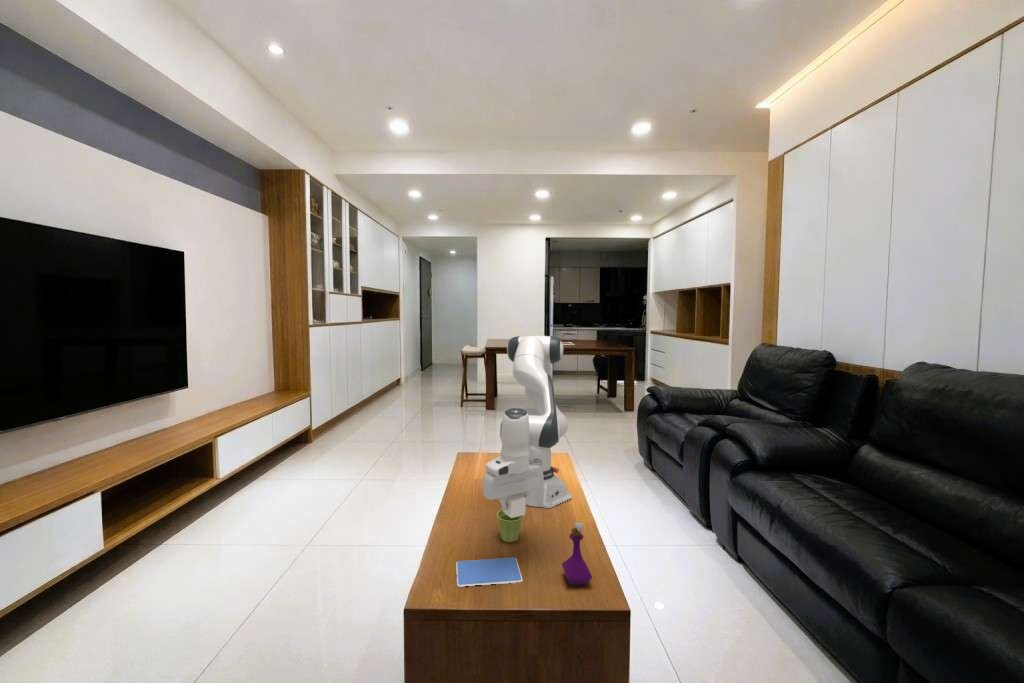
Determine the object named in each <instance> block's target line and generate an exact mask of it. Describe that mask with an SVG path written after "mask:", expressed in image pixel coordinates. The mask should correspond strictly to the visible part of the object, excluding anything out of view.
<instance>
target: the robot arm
mask: <svg viewBox="0 0 1024 683" xmlns="http://www.w3.org/2000/svg"><path fill="white" fill-rule="evenodd" d="M506 352H507V356H508V359H509V360H510V361H511V362H512V363H513V366H512V374H513V375H512V376H513V377H514V380H515V381H516V382H517V383H518V384H519V385H521V386H522V387H524V393H525V396H526V398H528V399H527V400H530V402H532V403H533V405H534V407H532V406H520V407H512V408H509V409H505V411H504V412H503V416H502V421H501V423H500V427H499V428H500V432H499V434H500V435H499V436H500V441H501V442H500V443H501V449H500V454H499V455H498V456H497V457H495V458H494V459H491V460H490V461H488V462H487V463H485V466H484V467H485V470H486V472H485V474H484V477H483V483H482V494H483V496H484V497H485V498H486V499H487V500H489V501H493V500H497V499H498V500H499V502H500V504H501V506H500V507H501V510H508V505H509V504H507V503H506V502H505V501H504V500H505V499H506V496H510V495H514V494H520V495H521V496H523V497H524V498H526V504H525V506H526V505H527V506H529V507H536V508H544V509H552V508H554V507H556V505H557V506H558V504H559V505H561V504H563V503H562V502H564V503H565V501H566V502H568V501H570V500H569V499H571V498H572V499H573V495H572V494H571V493H570V492H569V491H568V488H567V485H566V482H564V481H563V479H561V478H560V477H558V476H557V475H556V474H558V473H559V470H560V469H559V468H558V467H554V466H552V449H551V448H553V447H554V446H556V445H557V444H558V443H559V441H560V438H562V437H563V436H565V434H566V432H567V430H568V428H569V422H568V419H567V417H566V415H565V414H564V413H562V411H561V410H560V409H559V407H558V406H557V404H556V396H555V389H554V382H553V378H552V376H553V375H552V374H553V373H552V371H553V370H552V366H553V365H555V364H556V363H559V362H560V360H561V359H562V357H563V354H564V343H563V342H562V339H561V338H560V337H558V336H554V335H551V336H550V335H549V336H548V335H538V334H535V335H525V336H524V335H523V336H519V335H518V336H517V335H516V336H513V337H511V338H510V339H509V341H508V343H507V347H506ZM572 499H571V500H572ZM567 500H568V501H567ZM560 503H561V504H560Z"/></svg>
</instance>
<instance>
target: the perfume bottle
mask: <svg viewBox="0 0 1024 683" xmlns="http://www.w3.org/2000/svg"><path fill="white" fill-rule="evenodd" d="M573 525H574V527H572V528H571V533H570V534H569V538H570V540H571V541H572V542H573V543H572V544H573V551H572V554H571V556H569V558H568V559H566V560H565V561H563V562H562V563H561V566H562V569H563V572H564V575H565V578H566V580H567V581H568V583H569V585H570V586H571V585H576V586H586V585H587V584H588V583H589V582H590V581H591V580H592V579H593V575H592V573H591V572H590V569H589V566H588V564H587V562H586V561H585V560H584V558H583V555H582V552H581V541H582V540H583V539H584V535H583V534H582V529H583V527H584V523H583V522H574V523H573Z"/></svg>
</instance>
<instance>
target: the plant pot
mask: <svg viewBox="0 0 1024 683" xmlns="http://www.w3.org/2000/svg"><path fill="white" fill-rule="evenodd" d="M524 516H525V515H521V516H518V517H514V518H510V517H509V516H508V515H507V514H505V513H504V512H503V510H502V509H499V510H498V511H497V512H496V517H497V518H498V525H499V533H500V538H501V540H502V541H503V542H506V543H513V542H517V541H518V540H519V536H520V529H521V522H522V521H523V518H524Z"/></svg>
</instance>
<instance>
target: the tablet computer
mask: <svg viewBox="0 0 1024 683" xmlns="http://www.w3.org/2000/svg"><path fill="white" fill-rule="evenodd" d="M455 568H456V570H455V574H456V575H457V577H456V587H457V586H458V587H457V588H466V587H465V586H469V587H476V586H475V585H482V586H492V585H491V584H496V585H509V583H511V584H517V583H516V582H519V583H518V584H521V583H520V582H522V581H523V582H524V580H523V577H522V573H521V570H520V566H519V563H518V559H517V558H516V557H503V558H502V557H500V558H499V557H498V558H490V559H489V558H488V559H487V558H486V559H472V560H471V559H470V560H458V561H456V563H455ZM523 582H522V583H523Z"/></svg>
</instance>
